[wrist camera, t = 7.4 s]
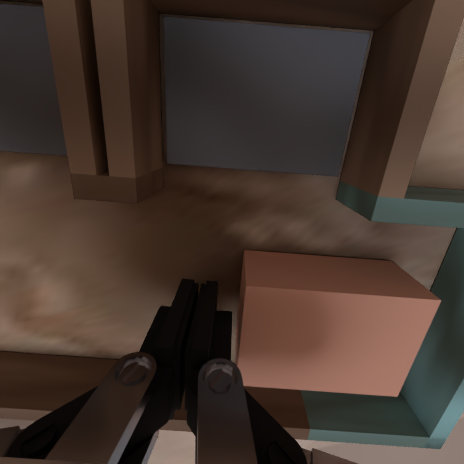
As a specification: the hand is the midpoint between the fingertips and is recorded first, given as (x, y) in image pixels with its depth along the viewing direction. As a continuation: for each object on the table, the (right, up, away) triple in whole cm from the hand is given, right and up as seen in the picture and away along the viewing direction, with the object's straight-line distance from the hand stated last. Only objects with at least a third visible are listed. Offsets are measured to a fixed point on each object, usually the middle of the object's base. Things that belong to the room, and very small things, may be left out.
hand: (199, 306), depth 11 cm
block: (+5, 0, +1) cm, 6 cm away
